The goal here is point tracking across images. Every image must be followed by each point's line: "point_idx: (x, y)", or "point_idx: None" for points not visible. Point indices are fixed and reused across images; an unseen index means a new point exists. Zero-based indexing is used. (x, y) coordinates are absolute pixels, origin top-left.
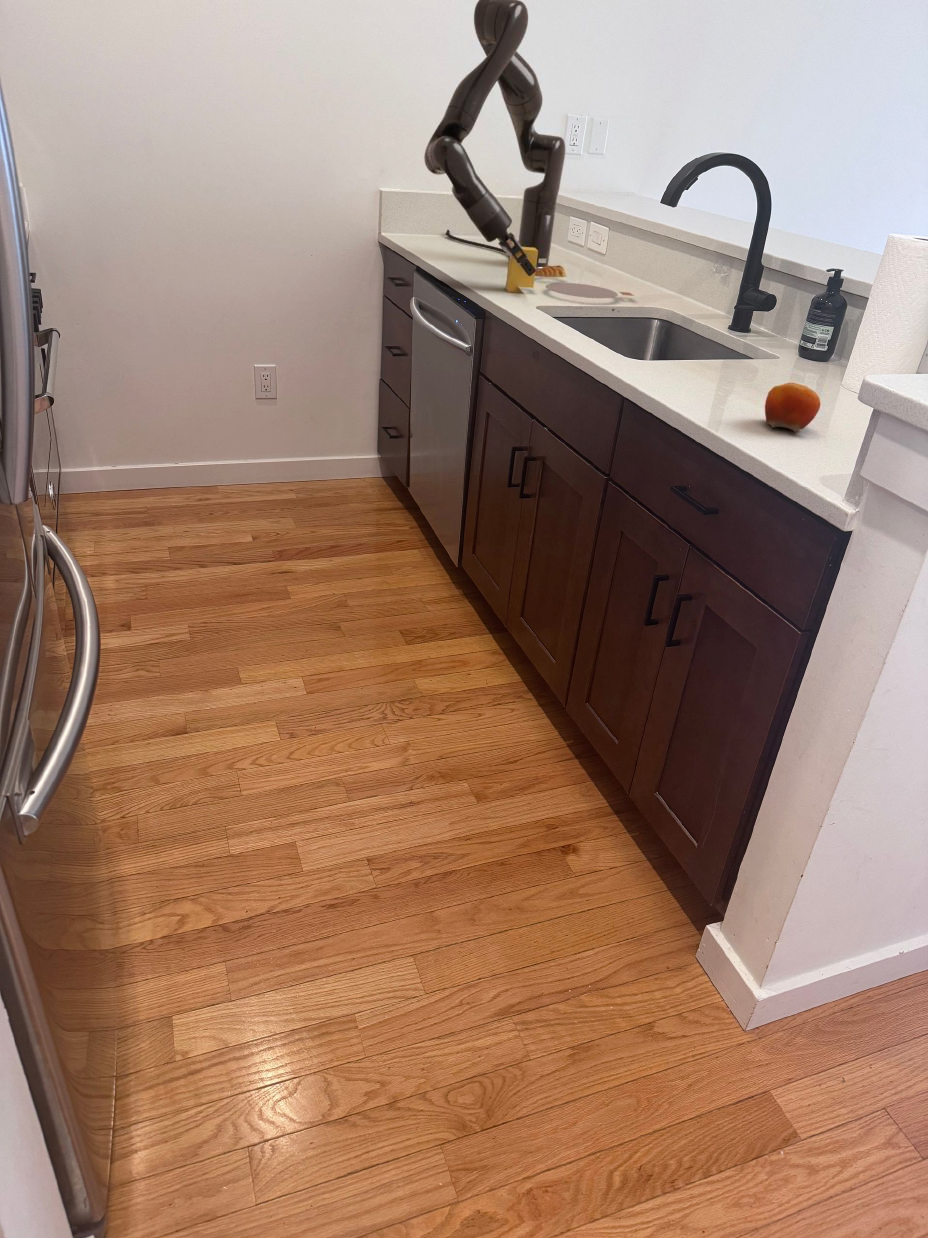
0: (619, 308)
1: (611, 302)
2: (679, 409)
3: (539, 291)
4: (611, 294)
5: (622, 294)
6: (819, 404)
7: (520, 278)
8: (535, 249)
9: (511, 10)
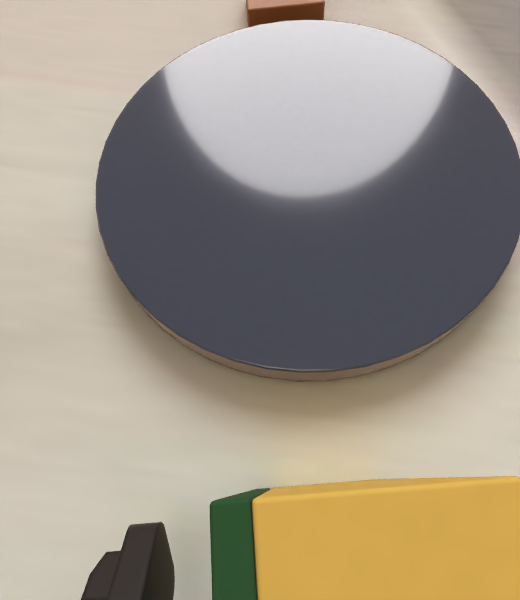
0: (516, 57)
1: None
2: None
3: (263, 414)
4: (348, 44)
5: (311, 3)
6: None
7: None
8: (449, 514)
9: None
